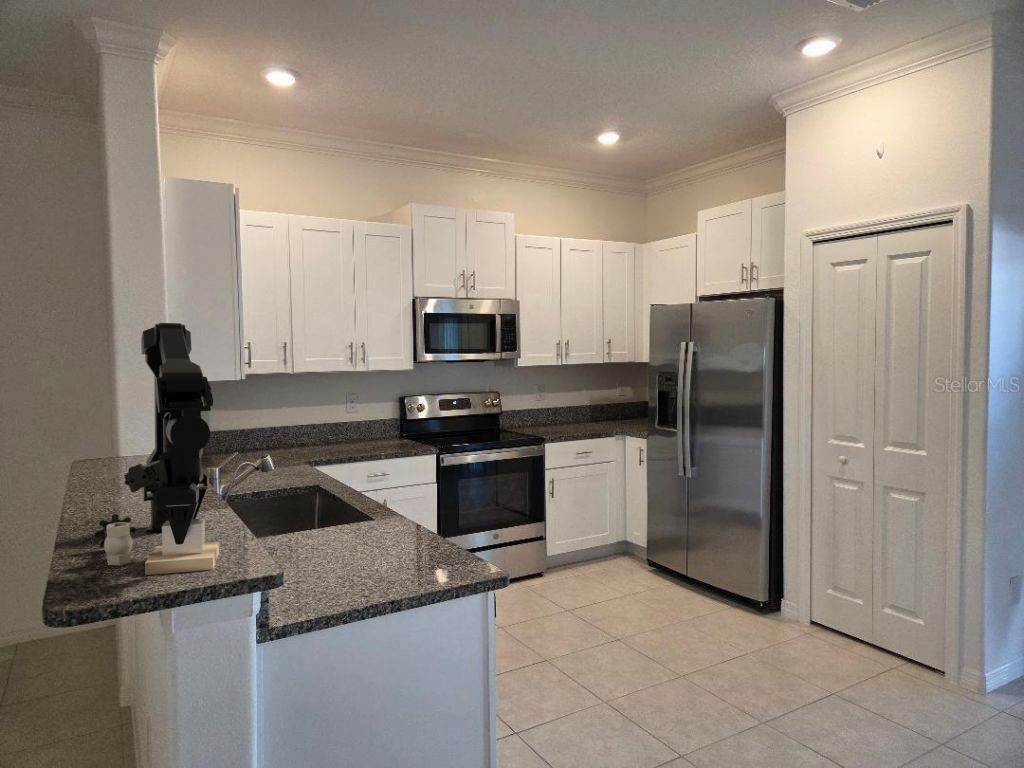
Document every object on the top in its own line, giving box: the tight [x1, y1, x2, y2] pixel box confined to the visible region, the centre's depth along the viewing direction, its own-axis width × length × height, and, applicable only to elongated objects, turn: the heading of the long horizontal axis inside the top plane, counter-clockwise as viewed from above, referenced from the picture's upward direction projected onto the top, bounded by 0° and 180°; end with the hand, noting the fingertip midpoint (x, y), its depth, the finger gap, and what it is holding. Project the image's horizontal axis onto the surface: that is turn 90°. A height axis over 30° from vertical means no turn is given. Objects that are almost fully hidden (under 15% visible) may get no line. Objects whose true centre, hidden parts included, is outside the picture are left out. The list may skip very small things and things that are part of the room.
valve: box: [93, 512, 137, 567], centre depth 120 cm, size 7×7×12 cm
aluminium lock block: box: [161, 517, 206, 556], centre depth 117 cm, size 4×6×5 cm, turn 107°
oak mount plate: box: [144, 541, 220, 576], centre depth 117 cm, size 10×10×2 cm
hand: (183, 537), depth 117 cm, fingers open, 9 cm apart
